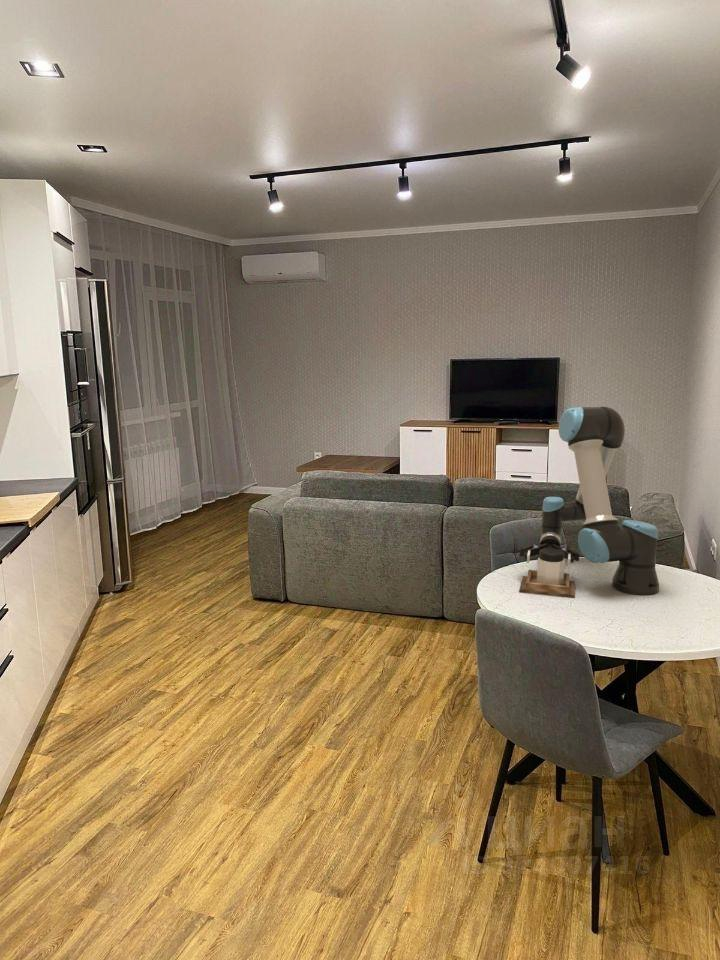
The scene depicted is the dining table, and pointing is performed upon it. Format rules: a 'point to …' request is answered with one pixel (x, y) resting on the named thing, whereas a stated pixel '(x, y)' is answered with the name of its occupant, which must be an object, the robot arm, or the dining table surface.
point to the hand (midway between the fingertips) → (548, 561)
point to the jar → (551, 567)
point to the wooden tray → (547, 586)
